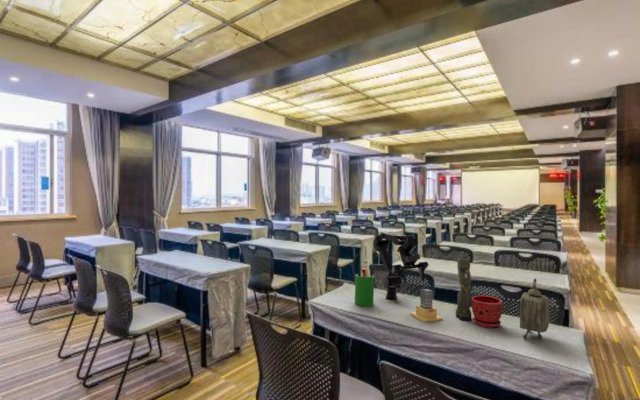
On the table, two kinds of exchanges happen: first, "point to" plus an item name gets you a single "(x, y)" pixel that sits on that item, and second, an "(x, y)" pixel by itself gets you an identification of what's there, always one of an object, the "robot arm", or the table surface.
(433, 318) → the stand base
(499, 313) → the plant pot
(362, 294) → the green pencil holder
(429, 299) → the column
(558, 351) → the table surface
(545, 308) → the tabletop clock
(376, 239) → the robot arm
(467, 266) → the mechanical leg
